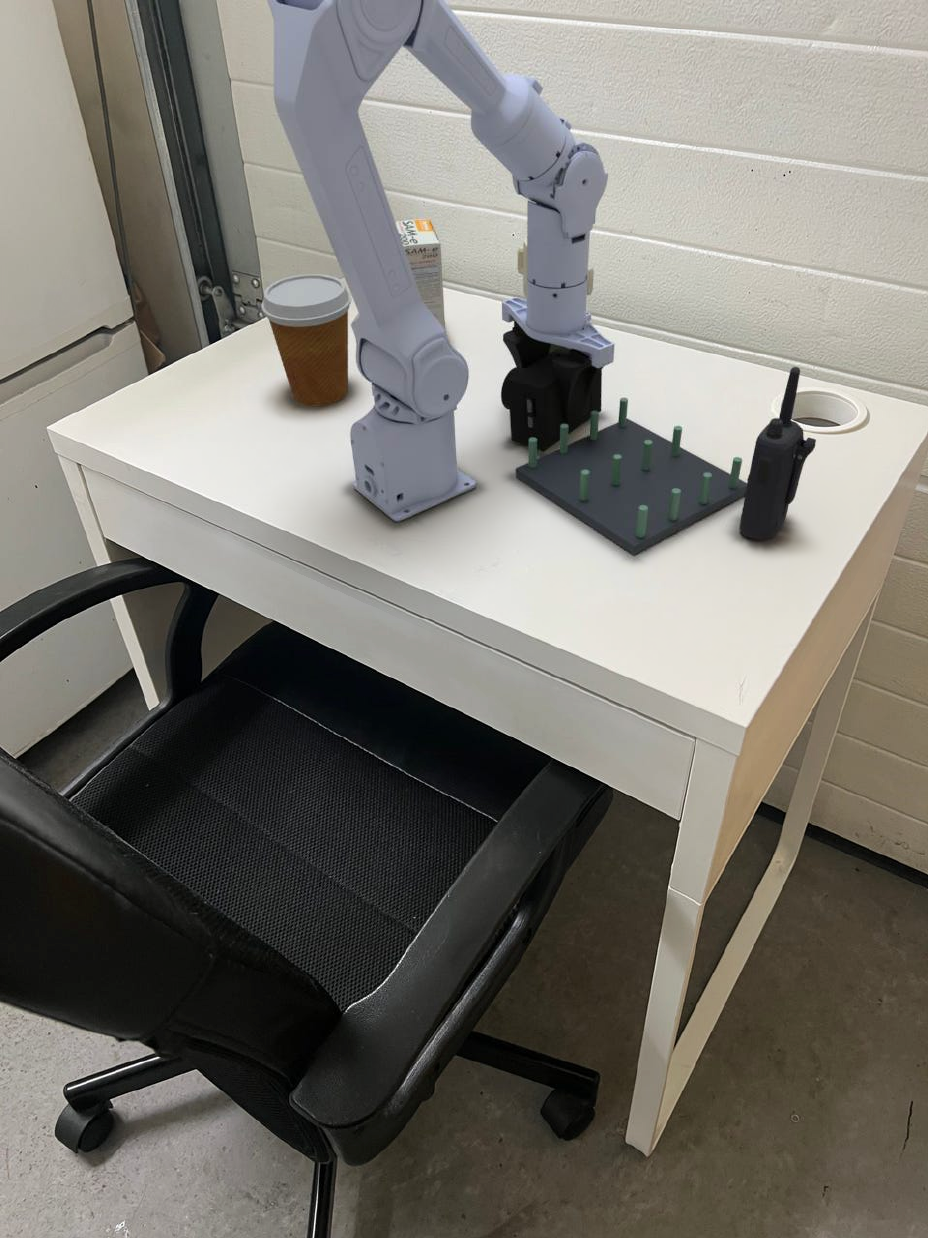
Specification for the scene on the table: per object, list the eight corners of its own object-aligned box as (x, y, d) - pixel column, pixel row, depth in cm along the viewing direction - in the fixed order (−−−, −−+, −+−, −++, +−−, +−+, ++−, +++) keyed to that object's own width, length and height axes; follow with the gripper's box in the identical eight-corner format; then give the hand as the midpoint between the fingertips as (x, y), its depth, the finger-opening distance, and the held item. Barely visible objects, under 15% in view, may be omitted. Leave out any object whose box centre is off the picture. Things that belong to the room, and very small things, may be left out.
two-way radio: (755, 506, 86) (786, 354, 76) (802, 521, 84) (841, 367, 74) (731, 536, 83) (760, 382, 73) (780, 552, 81) (816, 396, 71)
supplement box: (399, 326, 119) (390, 220, 110) (436, 322, 119) (430, 216, 111) (408, 354, 113) (399, 245, 104) (447, 350, 113) (441, 240, 104)
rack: (633, 555, 82) (637, 518, 79) (515, 476, 92) (515, 441, 89) (748, 493, 88) (755, 456, 85) (626, 426, 98) (629, 391, 95)
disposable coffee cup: (267, 411, 104) (246, 306, 96) (294, 371, 111) (276, 270, 103) (349, 415, 102) (335, 309, 94) (371, 375, 109) (359, 273, 101)
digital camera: (560, 399, 103) (559, 338, 98) (601, 411, 100) (602, 348, 95) (501, 438, 97) (497, 375, 92) (543, 452, 94) (541, 387, 89)
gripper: (642, 288, 85) (630, 420, 94) (539, 245, 94) (537, 370, 103) (584, 309, 82) (578, 444, 91) (484, 263, 91) (487, 390, 100)
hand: (553, 406), depth 97 cm, fingers closed on digital camera, 5 cm apart
